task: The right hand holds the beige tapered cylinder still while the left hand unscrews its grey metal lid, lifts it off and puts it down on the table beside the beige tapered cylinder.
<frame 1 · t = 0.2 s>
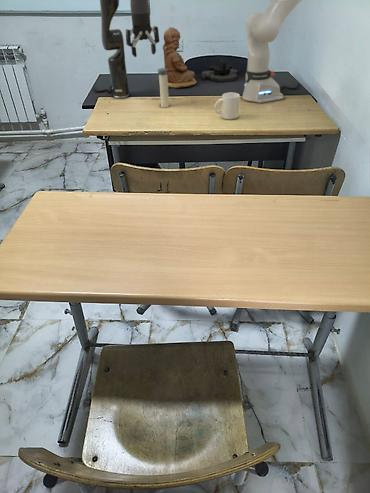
left hand: (144, 55, 157), 29 cm above the table, tool pointing down, fingers open, 8 cm apart
mug: (226, 117, 177), on the table
beige tapered cylinder: (165, 105, 192), on the table
abstract sculpture: (220, 77, 230), on the table
sculpture: (177, 82, 224), on the table
lid: (162, 70, 180), point 18 cm above the table, screwed on, not yet turned
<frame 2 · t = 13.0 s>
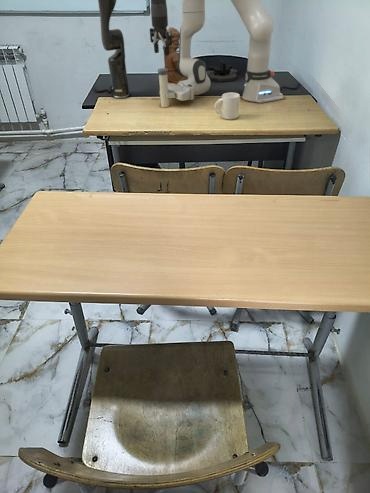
left hand: (161, 54, 176), 25 cm above the table, tool pointing down, fingers open, 7 cm apart
right hand: (162, 94, 188), 6 cm above the table, tool horizontal, fingers closed on beige tapered cylinder, 4 cm apart
beige tapered cylinder: (165, 105, 192), on the table, touching right hand
everything else where it was.
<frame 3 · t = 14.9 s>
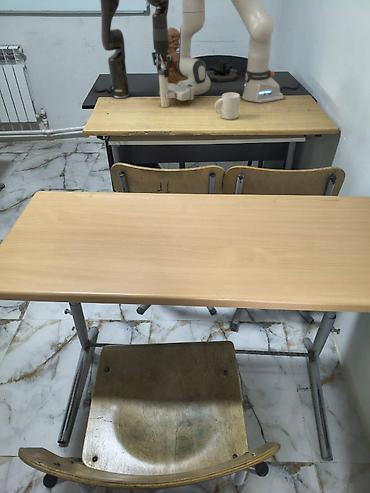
left hand: (163, 76, 182), 15 cm above the table, tool pointing down, fingers closed on lid, 5 cm apart
right hand: (162, 94, 188), 6 cm above the table, tool horizontal, fingers closed on beige tapered cylinder, 4 cm apart
beige tapered cylinder: (165, 105, 192), on the table, touching right hand
lid: (162, 70, 180), point 18 cm above the table, screwed on, not yet turned, touching left hand
everything else where it was.
when the left hand's fingers open (15 cm above the table, at t = 16.5 s): lid stays where it is, point 18 cm above the table.
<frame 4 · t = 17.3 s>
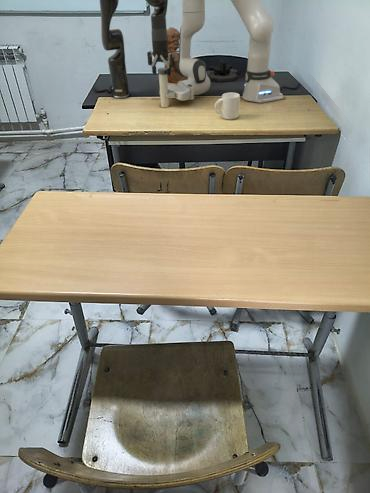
left hand: (161, 75, 181), 16 cm above the table, tool pointing down, fingers open, 7 cm apart
right hand: (162, 94, 188), 6 cm above the table, tool horizontal, fingers closed on beige tapered cylinder, 4 cm apart
beige tapered cylinder: (164, 105, 192), on the table, touching right hand
lid: (162, 69, 180), point 18 cm above the table, turned 80° so far, risen 0.3 cm, still on its thread
everything else where it was.
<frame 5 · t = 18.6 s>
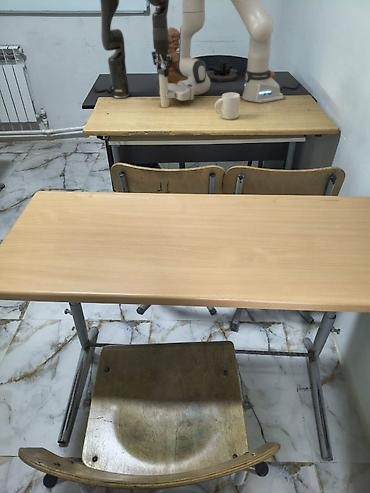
left hand: (163, 75, 182), 15 cm above the table, tool pointing down, fingers closed on lid, 5 cm apart
right hand: (162, 94, 188), 6 cm above the table, tool horizontal, fingers closed on beige tapered cylinder, 4 cm apart
beige tapered cylinder: (164, 105, 192), on the table, touching right hand
lid: (162, 69, 180), point 18 cm above the table, turned 80° so far, risen 0.3 cm, still on its thread, touching left hand
everything else where it was.
when the left hand's fingers open (0 cm above the table, at t = 26.4 s): lid drops 2 cm, point 2 cm above the table.
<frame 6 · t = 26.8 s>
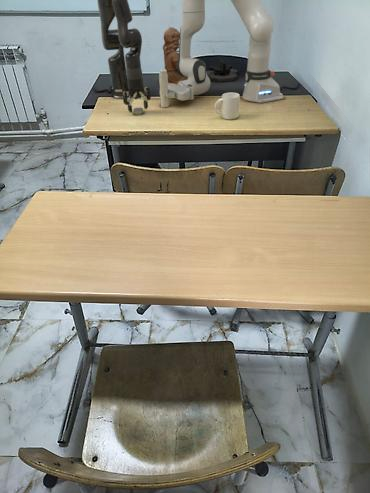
left hand: (138, 110, 184), 1 cm above the table, tool pointing down, fingers open, 8 cm apart
right hand: (162, 94, 188), 6 cm above the table, tool horizontal, fingers closed on beige tapered cylinder, 4 cm apart
beige tapered cylinder: (164, 105, 192), on the table, touching right hand
lid: (138, 109, 184), point 2 cm above the table, off its thread
everything else where it was.
when the right hand's fingers open (6 cm above the table, at t = 27.4 s): beige tapered cylinder stays where it is, on the table.
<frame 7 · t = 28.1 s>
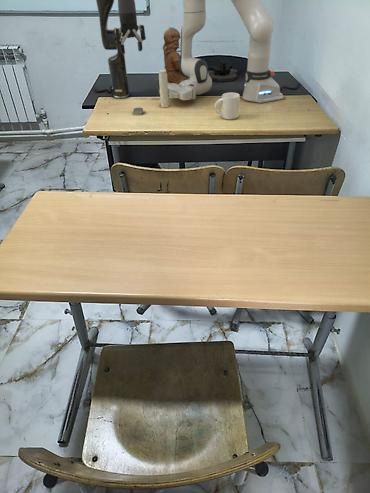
left hand: (131, 52, 167), 28 cm above the table, tool pointing down, fingers open, 8 cm apart
right hand: (164, 94, 188), 6 cm above the table, tool horizontal, fingers open, 8 cm apart
beige tapered cylinder: (164, 106, 192), on the table
everything else where it was.
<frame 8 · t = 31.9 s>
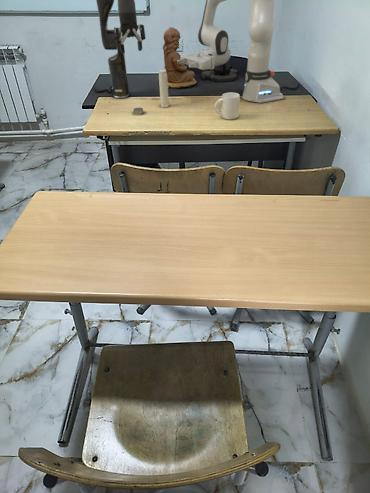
left hand: (131, 51, 166), 28 cm above the table, tool pointing down, fingers open, 8 cm apart
right hand: (183, 64, 185), 19 cm above the table, tool horizontal, fingers open, 8 cm apart
nothing on the table moved.
at the end: lid came off its thread; lid point 1.6 cm above the table; the left hand is holding nothing; the right hand is holding nothing; beige tapered cylinder tilted 0°; beige tapered cylinder moved 0.1 cm from its start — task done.
